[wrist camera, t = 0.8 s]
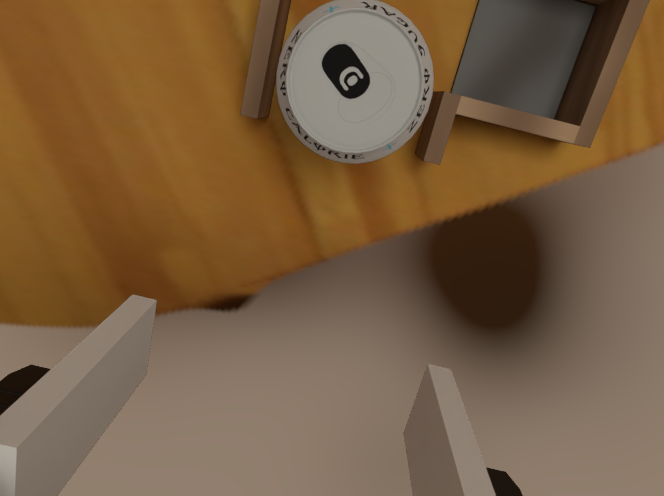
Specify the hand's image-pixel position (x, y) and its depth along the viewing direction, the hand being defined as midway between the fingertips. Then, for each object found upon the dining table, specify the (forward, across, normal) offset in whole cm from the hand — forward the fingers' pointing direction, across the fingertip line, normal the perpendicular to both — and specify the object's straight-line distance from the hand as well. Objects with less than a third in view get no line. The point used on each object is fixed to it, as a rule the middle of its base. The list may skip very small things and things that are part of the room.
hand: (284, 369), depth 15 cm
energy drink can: (+20, 0, +9) cm, 22 cm away
